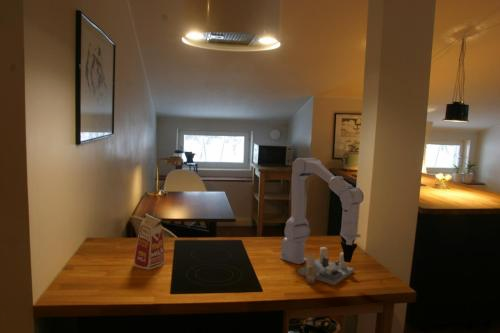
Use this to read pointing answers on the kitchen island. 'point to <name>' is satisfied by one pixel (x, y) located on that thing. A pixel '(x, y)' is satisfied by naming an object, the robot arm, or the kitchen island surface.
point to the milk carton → (149, 244)
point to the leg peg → (310, 274)
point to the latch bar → (332, 268)
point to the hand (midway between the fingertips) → (347, 258)
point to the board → (321, 266)
